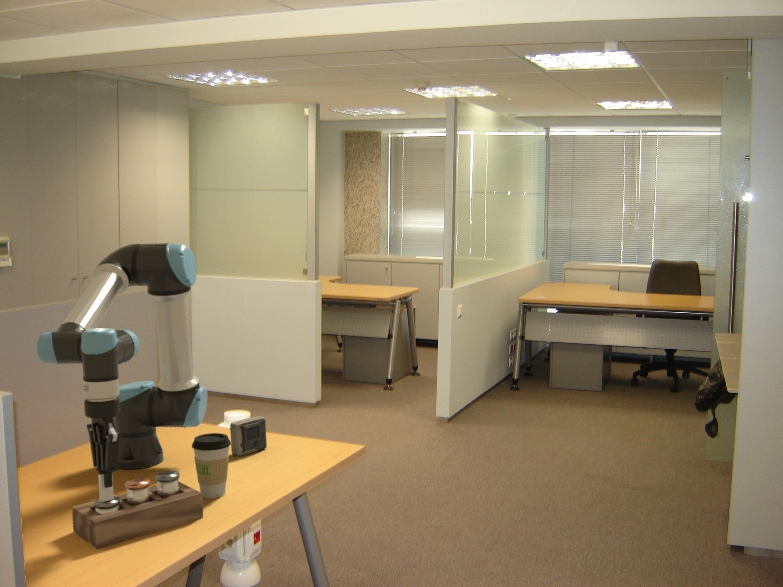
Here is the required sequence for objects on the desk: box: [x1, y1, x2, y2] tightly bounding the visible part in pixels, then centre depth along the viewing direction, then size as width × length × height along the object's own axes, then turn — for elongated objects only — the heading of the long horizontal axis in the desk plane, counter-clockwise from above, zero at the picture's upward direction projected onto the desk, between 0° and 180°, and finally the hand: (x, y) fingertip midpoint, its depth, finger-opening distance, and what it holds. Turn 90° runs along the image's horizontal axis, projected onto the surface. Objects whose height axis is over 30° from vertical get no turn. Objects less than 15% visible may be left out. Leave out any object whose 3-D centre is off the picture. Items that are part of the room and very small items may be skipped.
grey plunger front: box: [94, 495, 120, 515], centre depth 184 cm, size 6×6×7 cm
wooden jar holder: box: [71, 480, 204, 550], centre depth 189 cm, size 13×26×6 cm, turn 133°
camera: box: [229, 415, 268, 457], centre depth 245 cm, size 11×6×10 cm, turn 136°
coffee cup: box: [191, 432, 231, 499], centre depth 209 cm, size 10×10×15 cm
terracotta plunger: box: [124, 477, 151, 506], centre depth 189 cm, size 6×6×7 cm
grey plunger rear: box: [154, 470, 180, 498], centre depth 194 cm, size 6×6×7 cm
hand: (106, 499), depth 183 cm, fingers closed
